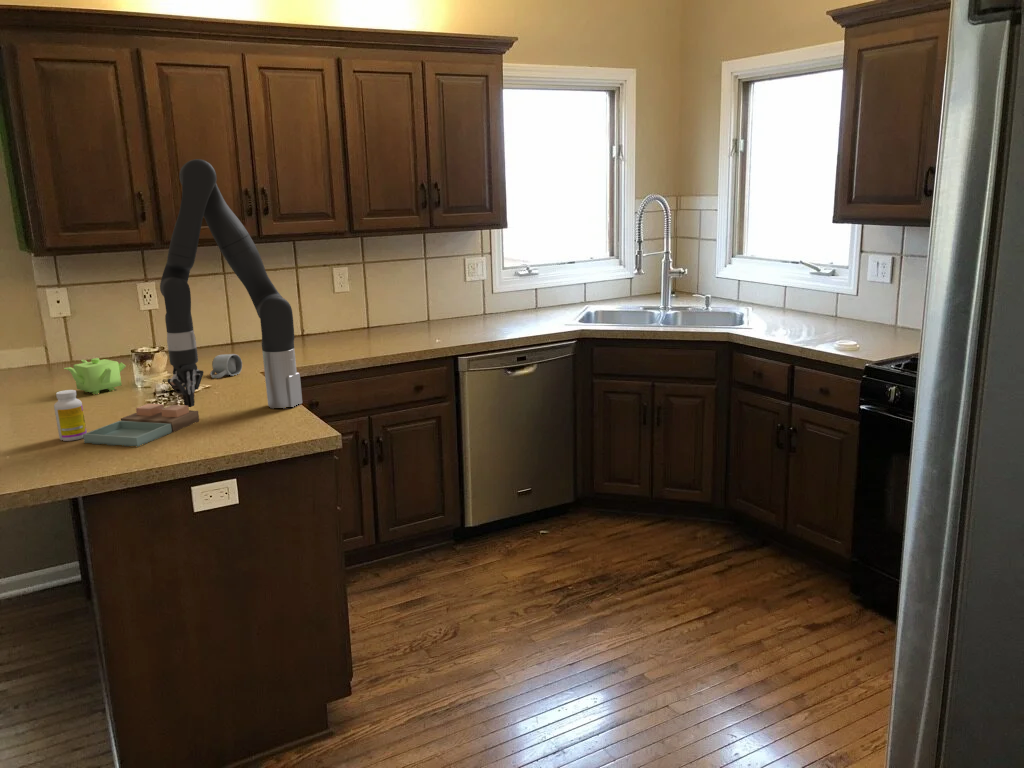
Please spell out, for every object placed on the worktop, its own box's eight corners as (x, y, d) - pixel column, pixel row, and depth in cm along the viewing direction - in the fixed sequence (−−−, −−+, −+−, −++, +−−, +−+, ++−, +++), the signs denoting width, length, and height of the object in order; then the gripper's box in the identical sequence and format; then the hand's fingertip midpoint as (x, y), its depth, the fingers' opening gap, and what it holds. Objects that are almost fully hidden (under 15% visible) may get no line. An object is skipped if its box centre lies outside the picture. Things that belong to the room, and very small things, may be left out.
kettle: (68, 398, 265) (62, 364, 262) (83, 388, 278) (77, 356, 276) (117, 394, 267) (112, 361, 265) (129, 385, 281) (124, 353, 278)
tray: (172, 432, 221) (170, 423, 220) (137, 447, 209) (136, 437, 208) (120, 429, 226) (119, 420, 225) (84, 443, 214) (82, 434, 213)
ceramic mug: (226, 371, 297) (223, 351, 295) (243, 373, 294) (241, 352, 292) (204, 378, 287) (202, 357, 286) (222, 380, 284) (219, 358, 282)
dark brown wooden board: (199, 421, 232) (198, 410, 231) (173, 432, 221) (171, 421, 221) (149, 418, 236) (148, 408, 236) (122, 428, 226) (120, 418, 226)
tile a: (189, 412, 229) (188, 405, 229) (177, 417, 225) (176, 410, 224) (174, 411, 231) (173, 404, 230) (162, 416, 226) (161, 409, 226)
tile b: (163, 411, 232) (162, 404, 231) (151, 415, 227) (150, 408, 227) (149, 410, 233) (148, 403, 233) (136, 414, 229) (135, 408, 228)
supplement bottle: (91, 437, 219) (84, 390, 216) (65, 443, 214) (57, 396, 211) (81, 433, 224) (74, 387, 221) (55, 438, 219) (47, 392, 216)
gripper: (177, 352, 222) (185, 413, 226) (208, 343, 235) (215, 401, 239) (154, 351, 225) (163, 411, 229) (186, 342, 237) (194, 400, 241)
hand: (189, 406), depth 234 cm, fingers closed
